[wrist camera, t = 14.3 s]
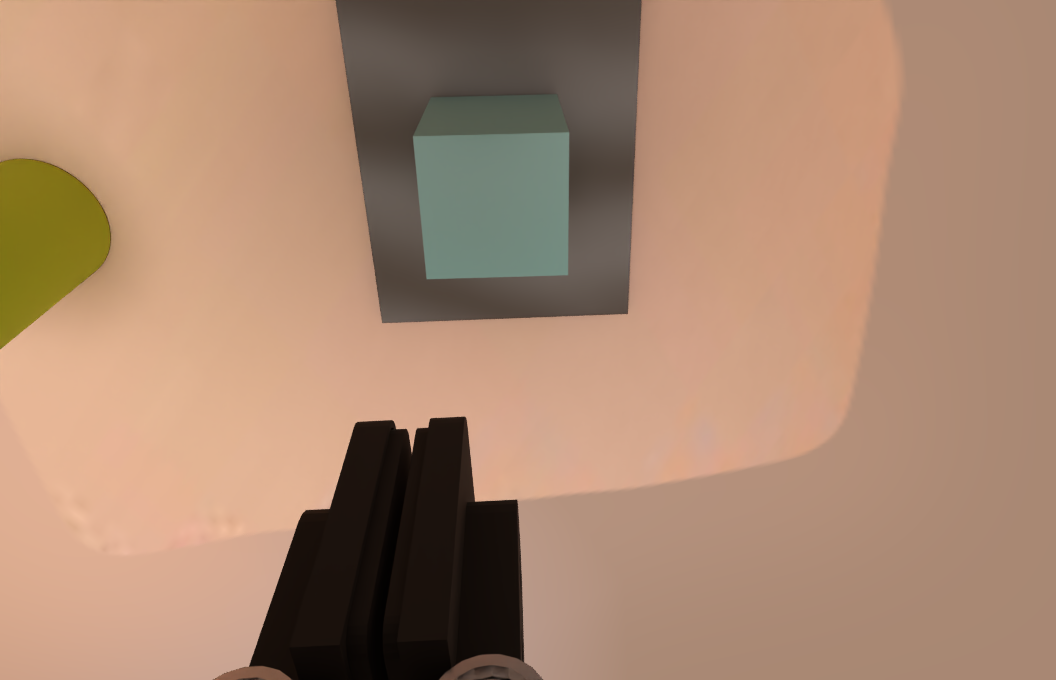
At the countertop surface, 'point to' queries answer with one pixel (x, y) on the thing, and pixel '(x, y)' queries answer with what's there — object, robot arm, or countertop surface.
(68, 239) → the soap dispenser
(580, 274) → the grey base plate
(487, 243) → the teal cuboid
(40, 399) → the countertop surface
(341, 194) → the countertop surface
